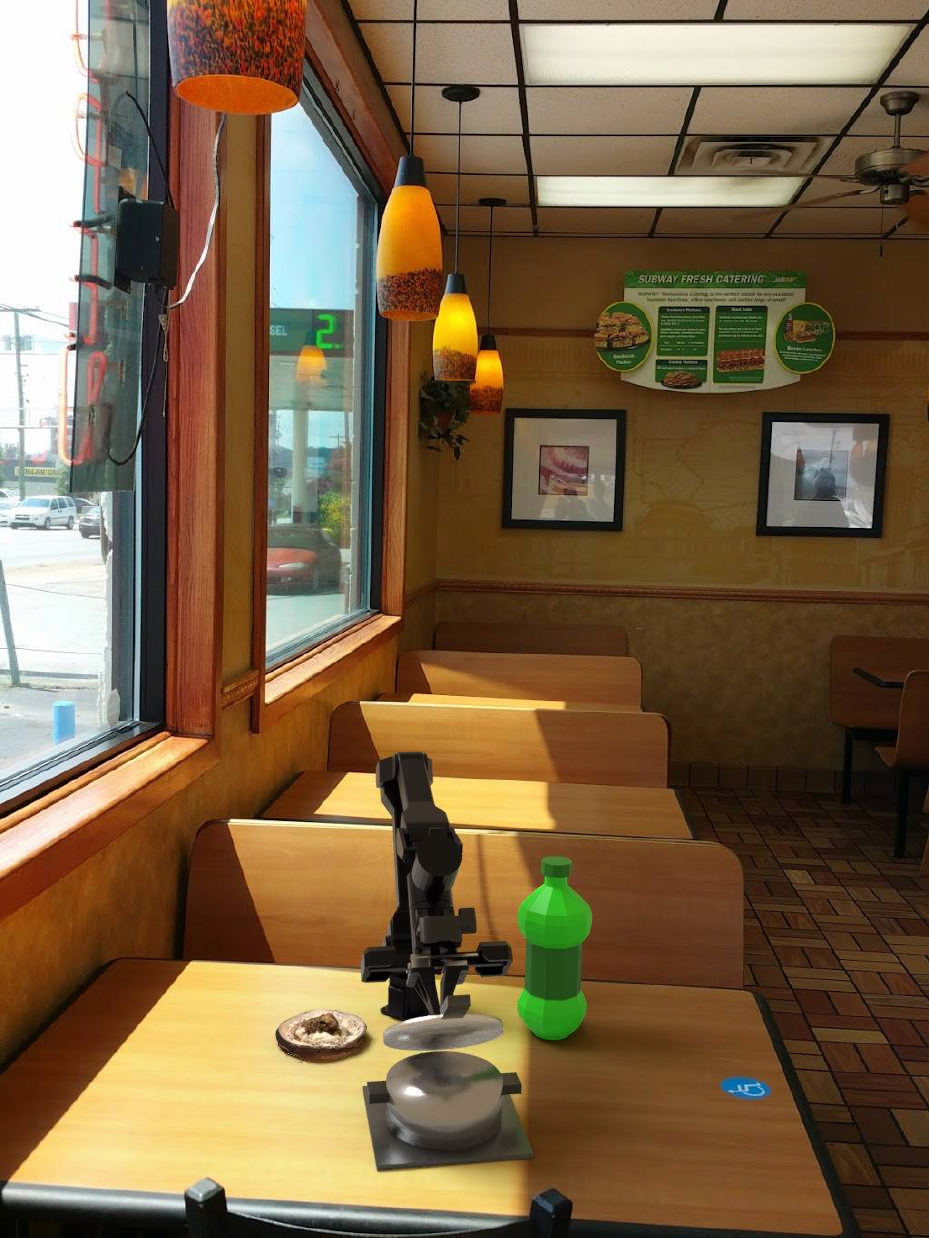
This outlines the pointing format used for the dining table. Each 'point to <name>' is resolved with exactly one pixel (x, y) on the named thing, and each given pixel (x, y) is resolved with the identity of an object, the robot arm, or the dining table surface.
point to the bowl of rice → (321, 1035)
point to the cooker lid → (444, 1028)
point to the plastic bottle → (553, 953)
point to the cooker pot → (444, 1113)
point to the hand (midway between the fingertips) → (442, 1030)
